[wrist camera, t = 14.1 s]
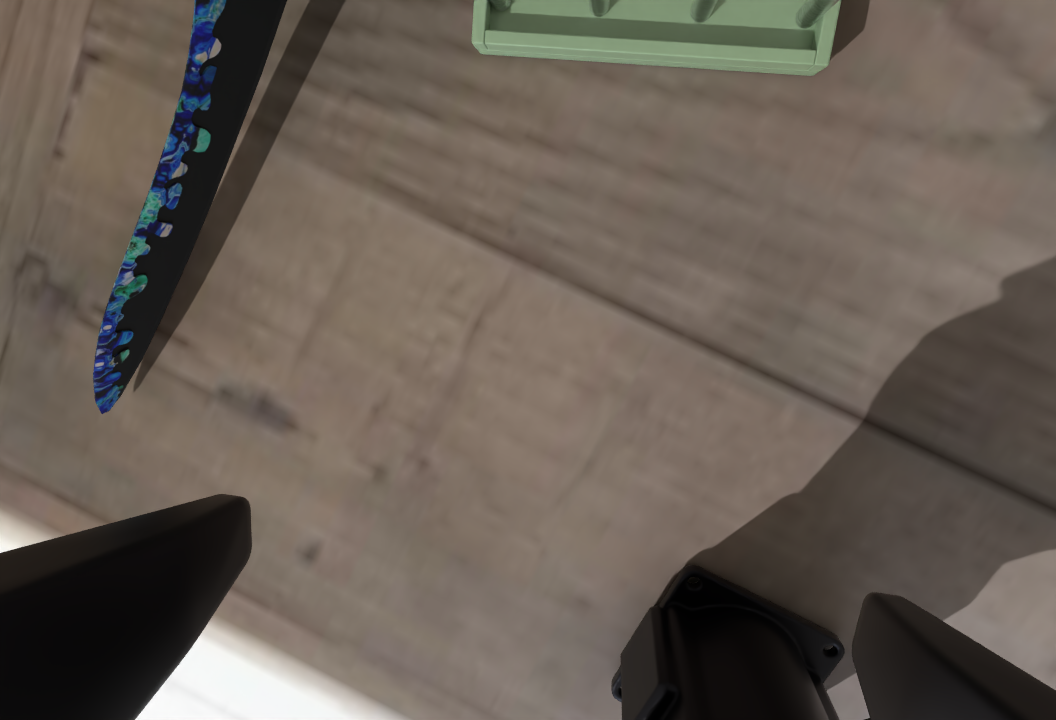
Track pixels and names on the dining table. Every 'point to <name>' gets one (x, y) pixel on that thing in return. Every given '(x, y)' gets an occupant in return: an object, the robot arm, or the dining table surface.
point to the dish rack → (664, 32)
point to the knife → (184, 179)
